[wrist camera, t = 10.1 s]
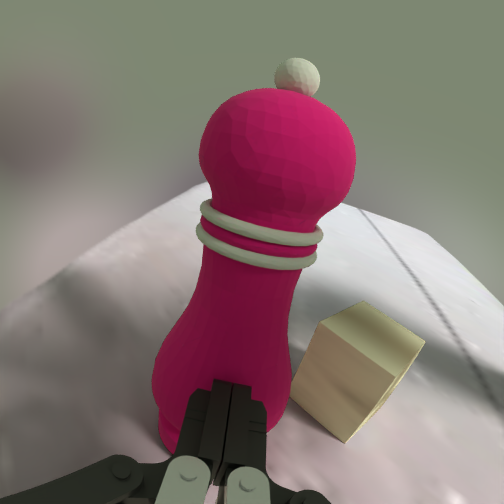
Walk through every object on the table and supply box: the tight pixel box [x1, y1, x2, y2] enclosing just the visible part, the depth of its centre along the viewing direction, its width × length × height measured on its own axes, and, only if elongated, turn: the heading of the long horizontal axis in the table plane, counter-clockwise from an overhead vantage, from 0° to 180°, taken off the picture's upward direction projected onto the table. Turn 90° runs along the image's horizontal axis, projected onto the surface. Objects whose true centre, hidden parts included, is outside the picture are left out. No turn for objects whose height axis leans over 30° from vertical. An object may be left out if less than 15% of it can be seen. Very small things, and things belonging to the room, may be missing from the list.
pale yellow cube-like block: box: [289, 301, 426, 444], centre depth 20 cm, size 6×6×7 cm
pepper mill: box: [152, 58, 356, 454], centre depth 13 cm, size 7×7×20 cm
